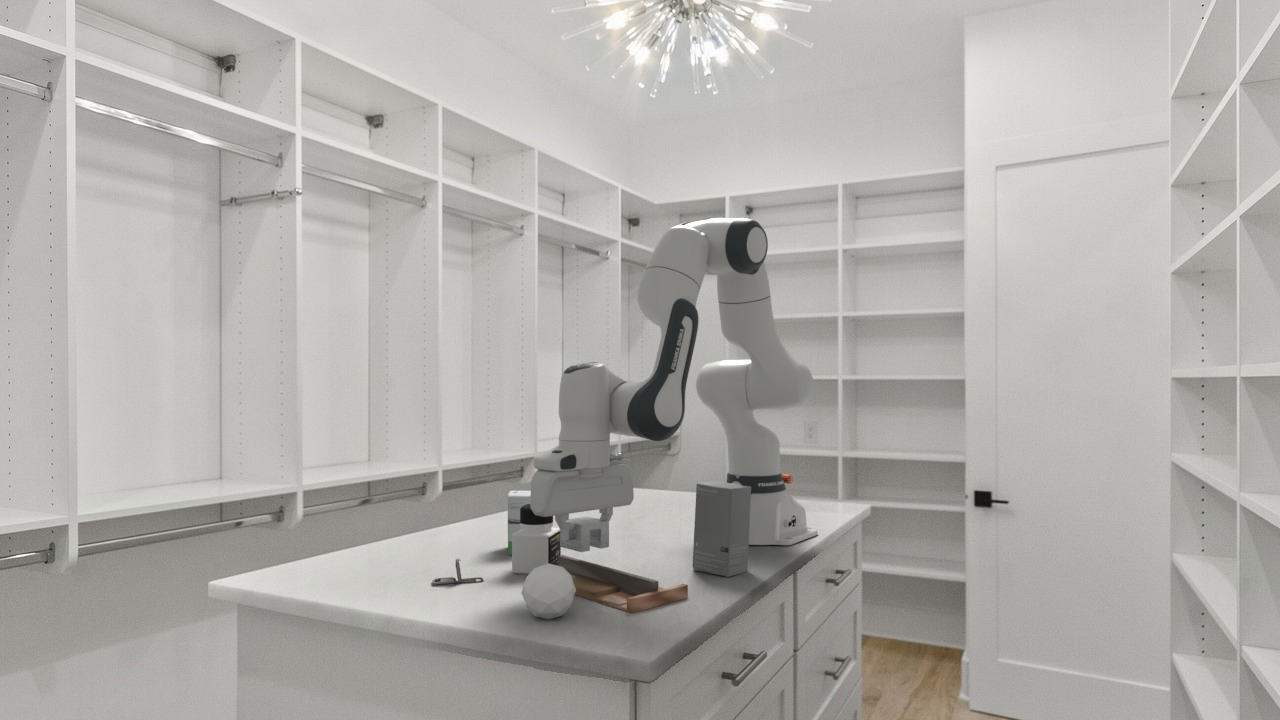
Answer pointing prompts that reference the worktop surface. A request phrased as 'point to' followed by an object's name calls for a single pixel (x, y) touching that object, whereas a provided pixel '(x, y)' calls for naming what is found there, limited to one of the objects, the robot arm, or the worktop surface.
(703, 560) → the skincare box
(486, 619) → the worktop surface
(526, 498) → the ink box
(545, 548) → the medicine bottle
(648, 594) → the board
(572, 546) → the grey square block
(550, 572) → the geometric ball
